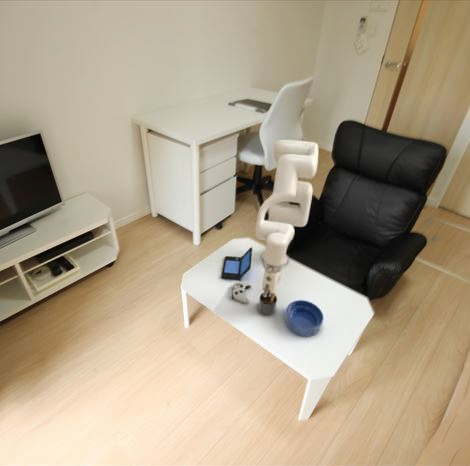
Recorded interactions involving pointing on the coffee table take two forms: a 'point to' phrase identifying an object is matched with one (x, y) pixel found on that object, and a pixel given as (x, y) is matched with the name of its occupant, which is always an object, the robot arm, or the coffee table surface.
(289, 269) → the coffee table surface
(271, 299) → the dowel
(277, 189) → the robot arm
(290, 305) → the bowl
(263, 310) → the cup
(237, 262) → the game console
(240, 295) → the gaming controller
